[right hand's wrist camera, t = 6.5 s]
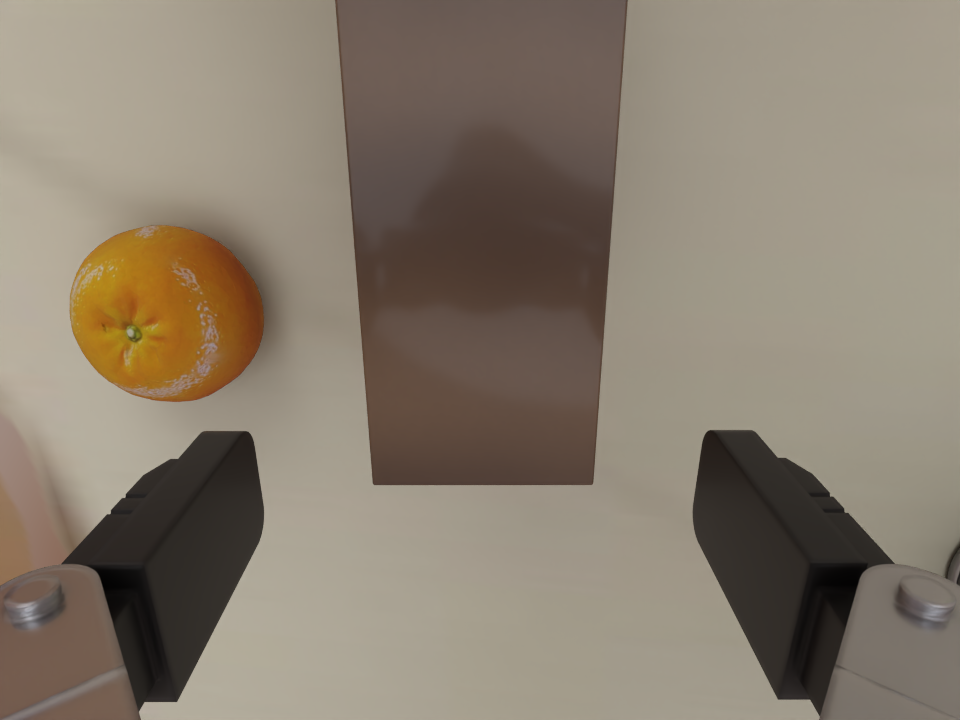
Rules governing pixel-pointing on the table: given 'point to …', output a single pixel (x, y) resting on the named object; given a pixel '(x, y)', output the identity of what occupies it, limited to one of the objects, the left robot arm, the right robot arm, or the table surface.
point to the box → (482, 231)
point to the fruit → (166, 313)
